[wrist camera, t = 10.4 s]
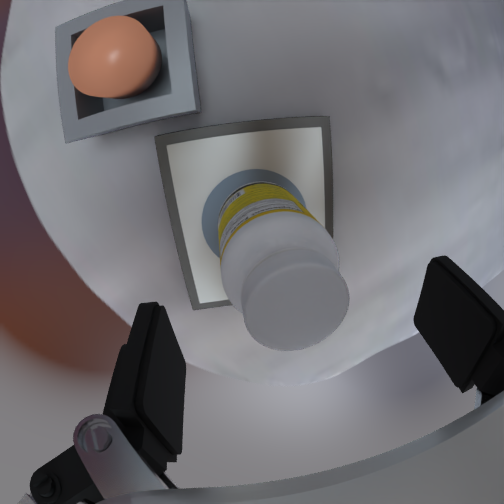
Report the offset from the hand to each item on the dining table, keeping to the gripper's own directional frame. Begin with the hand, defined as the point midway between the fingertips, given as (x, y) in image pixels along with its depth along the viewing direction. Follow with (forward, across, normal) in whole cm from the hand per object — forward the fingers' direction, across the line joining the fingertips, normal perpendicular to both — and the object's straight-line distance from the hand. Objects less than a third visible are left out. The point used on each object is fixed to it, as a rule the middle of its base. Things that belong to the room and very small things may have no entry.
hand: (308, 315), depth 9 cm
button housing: (+12, +7, -10) cm, 17 cm away
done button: (+9, +7, -10) cm, 15 cm away
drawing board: (+12, +1, +1) cm, 12 cm away
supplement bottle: (+11, 0, +1) cm, 11 cm away
